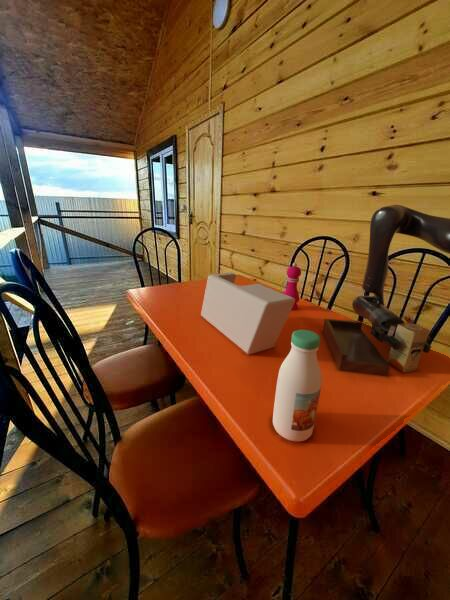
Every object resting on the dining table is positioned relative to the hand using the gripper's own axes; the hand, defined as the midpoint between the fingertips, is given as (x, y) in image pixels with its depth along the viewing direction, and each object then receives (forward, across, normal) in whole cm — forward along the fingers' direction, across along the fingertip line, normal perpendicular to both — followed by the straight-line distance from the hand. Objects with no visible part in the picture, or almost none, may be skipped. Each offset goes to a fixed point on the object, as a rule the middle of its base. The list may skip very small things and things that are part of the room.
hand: (412, 348), depth 67 cm
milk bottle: (+26, -32, +7) cm, 42 cm away
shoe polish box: (-2, 0, +7) cm, 8 cm away
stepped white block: (-11, -47, +7) cm, 49 cm away
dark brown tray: (-8, -12, +7) cm, 16 cm away
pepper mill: (-42, -28, +7) cm, 51 cm away
